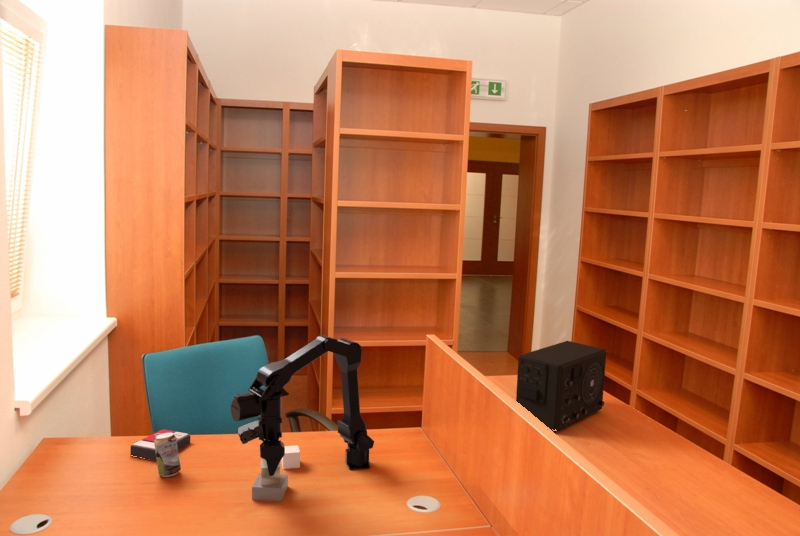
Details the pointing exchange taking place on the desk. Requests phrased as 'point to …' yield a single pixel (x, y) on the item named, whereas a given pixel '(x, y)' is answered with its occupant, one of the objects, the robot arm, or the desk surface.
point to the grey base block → (270, 489)
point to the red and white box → (147, 446)
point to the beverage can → (167, 454)
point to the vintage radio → (561, 382)
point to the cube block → (265, 475)
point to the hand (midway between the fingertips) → (270, 467)
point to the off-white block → (291, 457)
